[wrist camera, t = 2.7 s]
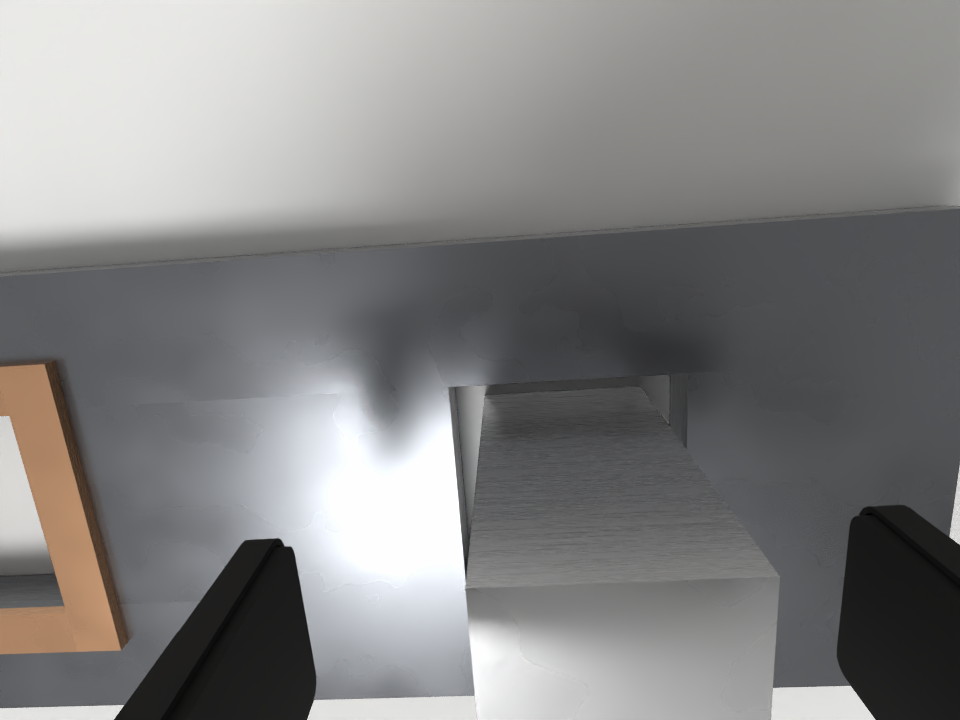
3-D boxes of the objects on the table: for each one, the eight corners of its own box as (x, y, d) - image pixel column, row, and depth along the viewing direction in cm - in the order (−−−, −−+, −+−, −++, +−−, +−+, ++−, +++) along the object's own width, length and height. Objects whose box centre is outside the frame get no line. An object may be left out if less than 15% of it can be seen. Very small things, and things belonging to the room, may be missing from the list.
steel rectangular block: (640, 386, 15) (780, 576, 8) (640, 525, 16) (764, 818, 9) (484, 394, 15) (465, 588, 8) (494, 531, 16) (486, 822, 9)
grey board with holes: (945, 205, 14) (1008, 205, 12) (891, 642, 17) (936, 692, 15) (-390, 300, 16) (-502, 312, 14) (-223, 675, 19) (-297, 724, 17)
